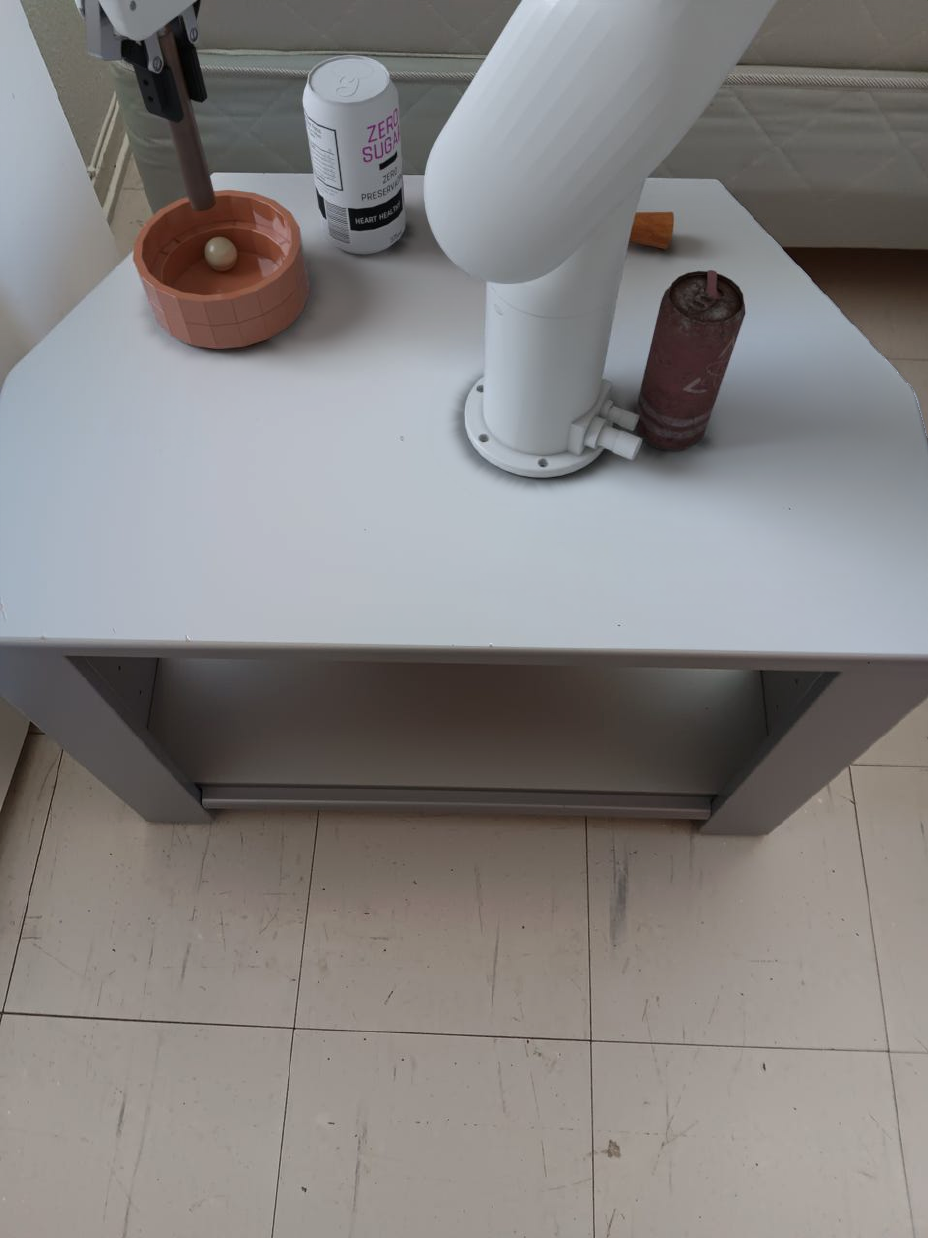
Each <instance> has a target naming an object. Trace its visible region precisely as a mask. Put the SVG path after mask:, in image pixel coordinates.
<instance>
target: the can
mask: <svg viewBox="0 0 928 1238" xmlns="http://www.w3.org/2000/svg"><path fill="white" fill-rule="evenodd" d="M746 314H747V313H746V304H745V299H744V293H743V292H742V290H741V288H740V286H739V285H738V284H737V283H735V282H734V281H733V280H732V279H731V278H729V277H727V276H725V275H723V274H721V273H718V272H717V271H715V270H713V269H709V270H707V271H706V270H696V271H691V272H690V271H689V272H686V273H684V274H682V275H680V276H677V278H676V279H674V280H673V281H672V282H671V283H670V286H669V287H668V288H667V289H665V290H664V293H663V295H662V297H661V300H660V305H659V309H658V313H657V316H656V317H657V318H656V321H655V325H654V329H653V334H652V338H651V343H650V346H649V351H648V355H647V359H646V363H645V368H644V372H643V376H642V380H641V384H640V389H639V394H638V397H637V402H636V406H635V409H634V413H635V414H637V415H639V420H638V422H637V425H636V427H635V429H636V431H637V433H638V434H639V436H640V438H642V440H644V441H645V443H647V444H649V445H651V446H652V447H653V448H655V449H660V450H662V451H668V452H669V451H671V452H676V451H682V450H686V449H688V448H690V447H691V446H694V445H695V444H698V442H700V440H701V439H702V438H704V435H705V433H706V431H707V428H708V424H709V421H710V419H711V415H712V413H713V410H714V406H715V404H716V401H717V398H718V395H719V392H720V389H721V386H722V384H723V380H724V378H725V375H726V372H727V369H728V366H729V363H730V360H731V357H732V355H733V352H734V348H735V346H736V342H737V340H738V337H739V335H740V331H741V328H742V326H743V322H744V319H745V316H746Z"/></svg>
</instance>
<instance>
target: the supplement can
mask: <svg viewBox="0 0 928 1238" xmlns="http://www.w3.org/2000/svg"><path fill="white" fill-rule="evenodd" d="M306 81H307V82H306V84H305V86H304V90H303V95H302V107H303V113H304V121H305V127H306V132H307V139H308V140H307V141H308V147H309V152H310V159H311V166H312V173H313V179H314V185H315V193H316V198H317V204H318V205H317V206H318V211H319V218H320V225H321V230H322V232H323V234H324V237H325V239H326V240H327V241H329V242H330V243H331V244H332V245H333V246H334V247H336V248H338V249H339V250H342V251H344V252H347V253H350V254H356V255H371V254H377V253H380V252H381V251H385V250H387V249H389V248H390V247H391V246H392V245H394V244H395V243H396V242H397V241H398V240H399V239H400V238H401V237H402V235H403V233H404V232H405V230H406V221H407V219H406V205H405V190H404V189H405V188H404V187H405V186H404V174H403V173H404V171H403V155H402V140H401V139H402V138H401V123H400V106H399V104H400V103H399V90H398V89H397V87H396V85H395V84H394V82H393V81H392V78H391V77H390V73H389V71H388V69H387V68H386V66H385V65H384V64H382V63H381V62H380V61H378V60H376V59H374V58H370V57H368V56H365V55H355V54H347V55H346V54H345V55H337V56H334V57H331V58H328V59H324V60H323V61H321V62H319V63H317V64H316V65H314V66H313V68H312V69H311V70H310V71H309V73H308V74H307V80H306Z"/></svg>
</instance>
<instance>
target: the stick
mask: <svg viewBox="0 0 928 1238" xmlns="http://www.w3.org/2000/svg"><path fill="white" fill-rule="evenodd" d="M156 34H157V38H158V42H159V46H160V50H161V54H162V58H163V63H164V65H167V66H169V67H171V69H172V71H173V75H174V79H175V82H176V86H177V90H178V94H179V97H180V101H181V105H182V109H183V113H184V119H183V120H182V121H180V122H179V123H176V122H173V121H170V120H167V119H165V122H166V125H167V128H168V132H169V136H170V139H171V142H172V143H171V144H172V146H173V150H174V152H175V156H176V160H177V163H178V166H179V171H180V174H181V178H182V181H183V185H184V189H185V191H186V195H187V197H188V199H189V202H190V205H191V207H192V208H193V209H195V210H198V211H206V210H209V209H211V208H213V207H214V206H215V204H216V197H215V193H214V191H215V189H214V186H213V182H212V178H211V174H210V171H209V167H208V161H207V159H206V155H205V150H204V148H203V143H202V139H201V135H200V131H199V128H198V127H199V126H198V122H197V119H196V116H195V111H194V107H193V103H192V100H191V99H190V96H189V92H188V88H187V84H186V80H185V76H184V72H183V68H182V64H181V61H180V57H179V53H178V49H177V45H176V41H175V37H174V33H173V29H172V27H171V25H170V24H169V23H168V24H166V25H165V26H164V27H162V28H161V29H160V30H158V31H157V32H156Z"/></svg>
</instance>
